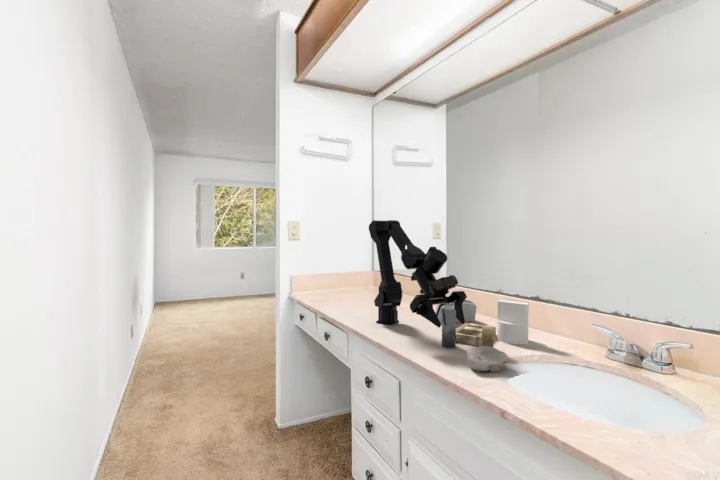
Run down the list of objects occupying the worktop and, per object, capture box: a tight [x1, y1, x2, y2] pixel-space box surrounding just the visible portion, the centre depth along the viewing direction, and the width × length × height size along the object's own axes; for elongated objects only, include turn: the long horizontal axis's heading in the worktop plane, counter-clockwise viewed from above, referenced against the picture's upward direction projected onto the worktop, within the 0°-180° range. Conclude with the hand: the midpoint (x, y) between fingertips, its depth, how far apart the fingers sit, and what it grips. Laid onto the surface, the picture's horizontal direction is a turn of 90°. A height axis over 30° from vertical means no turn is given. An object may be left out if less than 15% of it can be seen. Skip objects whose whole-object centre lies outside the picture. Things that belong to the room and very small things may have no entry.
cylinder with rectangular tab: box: [496, 299, 530, 345], centre depth 114 cm, size 9×9×12 cm
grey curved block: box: [434, 298, 477, 324], centre depth 139 cm, size 17×5×10 cm, turn 108°
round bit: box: [441, 303, 457, 349], centre depth 108 cm, size 4×4×12 cm
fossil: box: [466, 346, 510, 373], centre depth 90 cm, size 9×6×10 cm
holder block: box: [456, 322, 497, 347], centre depth 117 cm, size 10×16×2 cm, turn 145°
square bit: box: [482, 325, 494, 348], centre depth 102 cm, size 3×3×7 cm
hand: (452, 324), depth 107 cm, fingers open, 9 cm apart
